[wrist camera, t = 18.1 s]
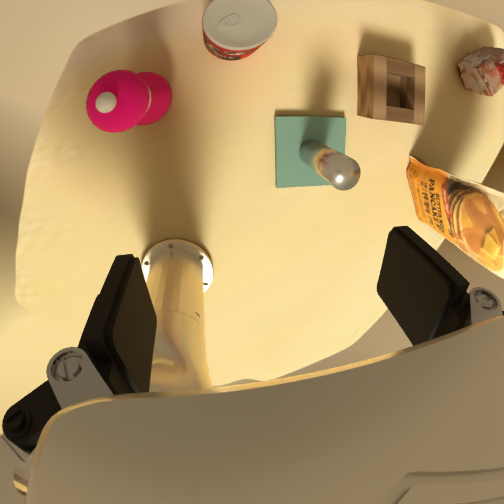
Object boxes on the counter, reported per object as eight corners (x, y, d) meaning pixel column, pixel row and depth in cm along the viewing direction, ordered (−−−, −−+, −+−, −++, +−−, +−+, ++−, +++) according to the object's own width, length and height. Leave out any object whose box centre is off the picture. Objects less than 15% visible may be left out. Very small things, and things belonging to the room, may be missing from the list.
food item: (464, 96, 39) (500, 105, 30) (448, 62, 35) (486, 65, 27) (492, 72, 35) (525, 78, 27) (478, 40, 32) (512, 42, 23)
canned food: (192, 37, 31) (187, 17, 22) (236, 4, 29) (245, -22, 20) (228, 72, 35) (235, 63, 25) (271, 39, 33) (292, 23, 23)
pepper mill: (147, 65, 32) (97, 44, 15) (185, 92, 35) (165, 88, 18) (117, 105, 34) (49, 119, 17) (154, 131, 37) (112, 163, 20)
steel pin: (324, 139, 41) (361, 157, 30) (323, 164, 43) (358, 189, 32) (298, 139, 40) (330, 157, 30) (298, 165, 42) (328, 191, 32)
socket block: (406, 120, 41) (423, 125, 37) (357, 115, 40) (373, 119, 36) (407, 66, 36) (425, 67, 31) (357, 56, 35) (373, 54, 30)
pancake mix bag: (423, 138, 43) (548, 198, 19) (441, 218, 53) (530, 296, 29) (397, 153, 44) (524, 224, 20) (419, 233, 54) (506, 320, 30)
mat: (340, 182, 46) (342, 184, 45) (275, 185, 45) (277, 188, 44) (343, 117, 40) (346, 118, 39) (274, 116, 39) (275, 116, 38)
